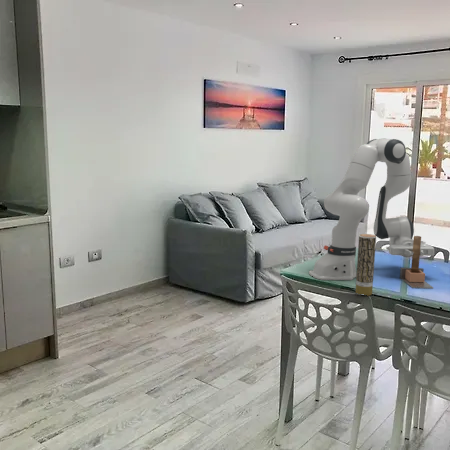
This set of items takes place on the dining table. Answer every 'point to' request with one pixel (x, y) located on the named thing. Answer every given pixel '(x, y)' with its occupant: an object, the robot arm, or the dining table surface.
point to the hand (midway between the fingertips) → (416, 254)
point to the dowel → (416, 254)
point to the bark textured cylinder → (365, 264)
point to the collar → (415, 276)
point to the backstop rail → (414, 284)
